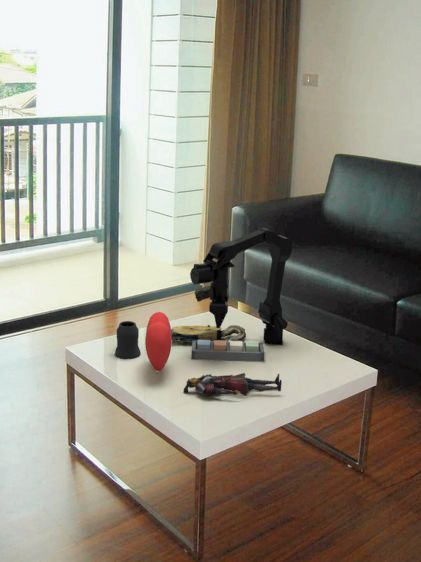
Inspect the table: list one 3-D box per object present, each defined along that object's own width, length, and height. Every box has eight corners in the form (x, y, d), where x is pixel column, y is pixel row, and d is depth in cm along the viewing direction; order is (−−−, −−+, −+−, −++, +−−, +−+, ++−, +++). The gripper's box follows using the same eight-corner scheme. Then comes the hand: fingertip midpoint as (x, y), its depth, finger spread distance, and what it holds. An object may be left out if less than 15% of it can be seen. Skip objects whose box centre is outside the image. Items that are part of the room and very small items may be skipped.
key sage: (257, 348, 260) (258, 341, 260) (258, 352, 256) (258, 346, 256) (245, 347, 260) (245, 341, 260) (245, 352, 256) (246, 346, 256)
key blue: (210, 346, 261) (210, 340, 260) (210, 351, 256) (210, 344, 256) (197, 346, 261) (197, 339, 260) (197, 350, 256) (197, 344, 256)
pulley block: (249, 329, 266) (165, 329, 263) (248, 345, 267) (165, 345, 264) (244, 321, 280) (164, 321, 277) (243, 337, 281) (164, 337, 278)
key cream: (241, 347, 261) (242, 341, 260) (242, 352, 256) (242, 345, 256) (229, 347, 261) (229, 340, 260) (229, 351, 256) (229, 345, 256)
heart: (146, 359, 253) (146, 307, 248) (171, 359, 254) (172, 307, 248) (143, 383, 234) (144, 328, 229) (171, 384, 235) (172, 328, 229)
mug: (141, 358, 253) (142, 328, 250) (115, 359, 252) (114, 328, 249) (139, 345, 265) (139, 316, 261) (113, 346, 263) (113, 316, 260)
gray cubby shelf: (262, 350, 264) (262, 342, 263) (264, 361, 254) (264, 353, 253) (192, 348, 264) (192, 340, 263) (191, 359, 254) (191, 351, 253)
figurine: (283, 385, 224) (184, 384, 222) (282, 403, 225) (183, 401, 223) (277, 368, 236) (183, 367, 234) (275, 385, 238) (182, 383, 235)
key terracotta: (226, 347, 261) (226, 340, 260) (226, 351, 256) (226, 345, 256) (213, 346, 261) (213, 340, 260) (213, 351, 256) (213, 344, 256)
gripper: (198, 271, 262) (197, 313, 266) (194, 287, 244) (193, 332, 248) (229, 273, 261) (228, 314, 266) (228, 289, 243) (226, 333, 248)
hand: (218, 323), depth 257 cm, fingers open, 9 cm apart
